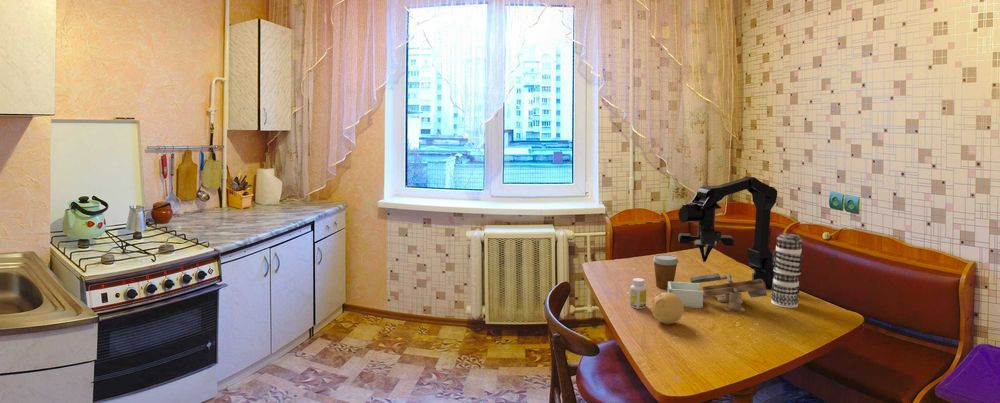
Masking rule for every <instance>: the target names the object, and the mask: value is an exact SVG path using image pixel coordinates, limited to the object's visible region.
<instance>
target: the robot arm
mask: <svg viewBox="0 0 1000 403" xmlns="http://www.w3.org/2000/svg"><path fill="white" fill-rule="evenodd" d="M745 190H746V191H747V192H748V193H750V194H751V198H752V199H751V200H752V202H753V204H754V207H755V209H756V210H755V223H754V238H753V245H752V247H751V248H747V250H746V251H747V252H746V253H747V256H746V260H747V262H748V264H749V268H750V269H751V270H753V272H752V273H751V280H757V279H762V280H763V281H764V283H765V285H766V290H767V289H769V290H772V287H773V285H772V283H773V282H774V275H775V272H774V271H773V268H774V267H775V266H774V265H773V262H774V261H773V260H774V259H773V252H772V250H771V249H770V247H769V244H770V243H769V242H770V228H771V227H770V226H771V211H772V208H774V206H775V204H776V202H777V198H778V190H777V189H776V188H775V187H774V186H770V185H768V184H767V183H764V182H763V181H761V180H759V179H758V178H756V177H754V176H743V177H742V178H739V179H736V180H735V179H734V180H733V181H728V182H725V183H722V184H718V185H717V184H716V185H704V186H700V187H699V188H698V189H697V191H696V193H695V195H694V197H693V198H692V199H691V200H690V202H689V203H682V205H681V207H680V208H679V210H678V212H677V213H678V219H679V221H680V222H681V223H692V222H694V223H695V222H697V235H696V236H695V235H691V233H686V232H685V233H684V232H679V234H678V243H679V244H690V243H691V242H693V243H694V245H695V247H698V249H699V252H700V256H701V259H702V262H703V263H706V262H707V260H708V257H709V256H710V253H711V251H712V249H714V248H717V246H718V245H717V243H721V244H723V245H724V246H729V247H733V246H735V238H733V236H732V235H729V234H728V235H727V234H722V231H720V230H716V229H715V228H716V226H715V224H716V210H718V209H719V210H720V209H721V208H722V207H721V205H719V204H718V202H720V201H722V200H723V199H724V198H725V197H727V196H729V195H733V194H736V193H739V192H743V191H745Z"/></svg>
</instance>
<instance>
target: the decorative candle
mask: <svg viewBox="0 0 1000 403" xmlns="http://www.w3.org/2000/svg"><path fill="white" fill-rule="evenodd" d="M803 242H804V239H802V238H801V236H800V235H798V234H796V233H789V232H784V233H781V234H779V235H778V236H777V237H776V245H775V248H773V252H772V256H774V257H772V259H773V265H774V266H775V267H774V268H773V271H774V272H775V274H773V283H772V286H773V287H772V289H771V290H772V291H771V292H770V299H771V300H770V301H771V302H770V303H771V304H773V305H774V306H776V307H779V308H790V309H791V308H792V309H793V308H795V309H796V308H797V307H798V306H799V302H800V301H799V299H800V296H799V294H800V289H801V288H800V287H801V286H800V281H799V279H800V275H801V273H802V270H801V269H802V268H803V266H802V265H801V264H802V263H803V258H804V256H803V255H802V250H803V248H802V245H803V244H802V243H803Z"/></svg>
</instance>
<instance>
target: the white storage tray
mask: <svg viewBox="0 0 1000 403" xmlns="http://www.w3.org/2000/svg"><path fill="white" fill-rule="evenodd" d="M666 291H667V292H668V293H673V294H675V295H676V296H678V297H679V298H680V300H681V301H682V303H683V307H684V308H693V309H695V308H696V309H703V304H704V293H703V290H701V283H691V282H683V281H674V282H671V281H668V289H666Z"/></svg>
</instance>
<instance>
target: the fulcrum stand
mask: <svg viewBox="0 0 1000 403" xmlns="http://www.w3.org/2000/svg"><path fill="white" fill-rule="evenodd" d="M726 283H727V282H724V284H726ZM742 297H743V294H742V292H739V293H732V292H730V294H723V295H716V299H717V301H718V302H719V303H728V306H724V310H725V311H733V312H745V307H742V305H743V304H744V300H743V299H742Z"/></svg>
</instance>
